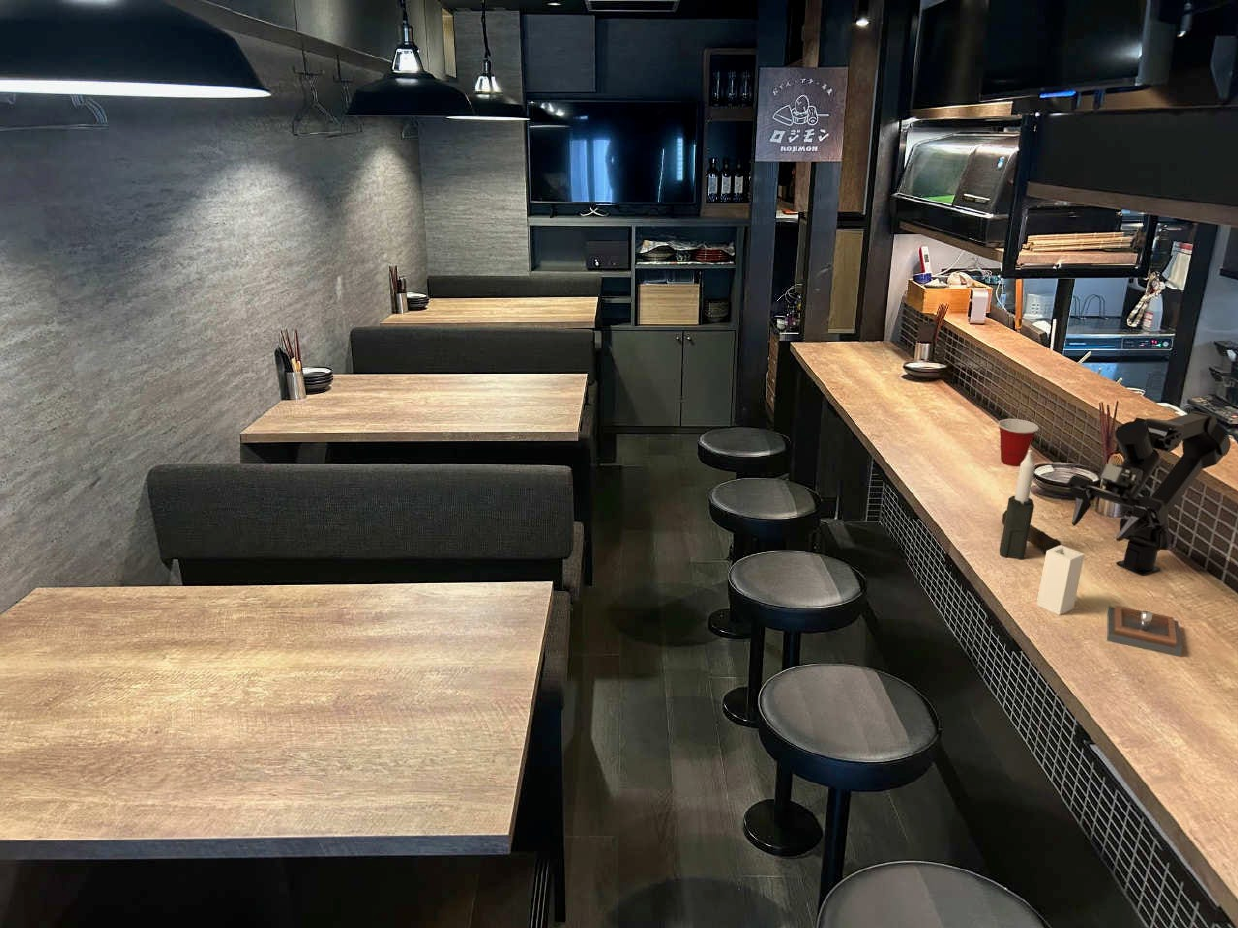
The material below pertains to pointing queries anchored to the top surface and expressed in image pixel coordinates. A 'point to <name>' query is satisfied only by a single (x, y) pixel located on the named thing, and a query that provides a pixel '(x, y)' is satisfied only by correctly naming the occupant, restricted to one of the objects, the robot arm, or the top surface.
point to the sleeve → (1060, 579)
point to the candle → (1019, 513)
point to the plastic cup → (1015, 440)
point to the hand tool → (1039, 538)
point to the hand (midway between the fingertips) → (1094, 532)
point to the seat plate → (1144, 630)
